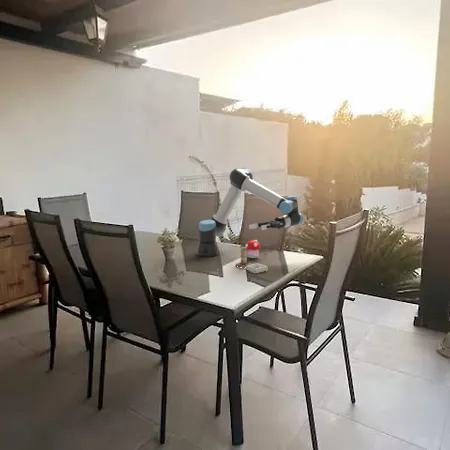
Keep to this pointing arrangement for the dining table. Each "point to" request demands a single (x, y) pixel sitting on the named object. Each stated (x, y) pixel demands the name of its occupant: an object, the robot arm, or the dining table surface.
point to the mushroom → (253, 248)
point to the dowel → (243, 255)
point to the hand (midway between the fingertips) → (255, 227)
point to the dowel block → (242, 265)
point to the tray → (251, 267)
